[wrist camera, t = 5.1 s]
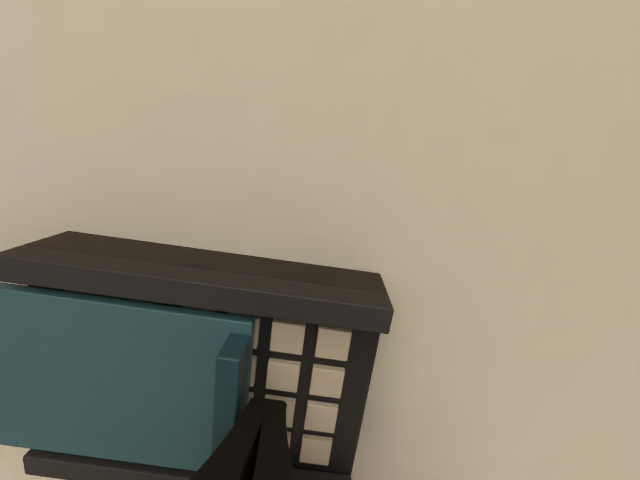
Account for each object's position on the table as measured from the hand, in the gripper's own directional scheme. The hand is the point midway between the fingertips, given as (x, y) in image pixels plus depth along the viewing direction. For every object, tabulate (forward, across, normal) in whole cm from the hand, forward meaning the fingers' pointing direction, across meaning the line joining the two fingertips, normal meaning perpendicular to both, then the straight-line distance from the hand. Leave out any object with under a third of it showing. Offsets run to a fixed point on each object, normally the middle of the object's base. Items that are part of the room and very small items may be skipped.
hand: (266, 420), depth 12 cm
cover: (+1, +7, 0) cm, 7 cm away
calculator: (+4, +3, 0) cm, 5 cm away
